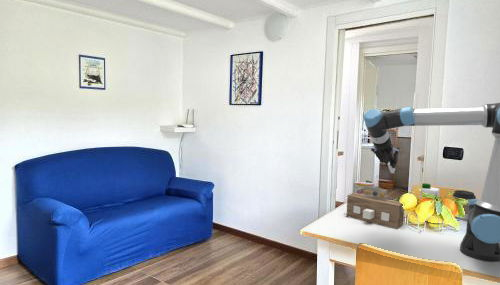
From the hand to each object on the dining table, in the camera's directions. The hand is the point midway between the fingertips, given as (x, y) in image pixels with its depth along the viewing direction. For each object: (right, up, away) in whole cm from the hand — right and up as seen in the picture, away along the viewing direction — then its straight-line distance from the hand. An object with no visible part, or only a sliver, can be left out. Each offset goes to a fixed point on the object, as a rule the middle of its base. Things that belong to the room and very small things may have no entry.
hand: (393, 171), depth 171 cm
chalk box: (+6, -25, +54) cm, 60 cm away
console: (-3, -28, +18) cm, 34 cm away
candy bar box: (-3, -27, +39) cm, 47 cm away
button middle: (-7, -26, +14) cm, 30 cm away
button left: (-9, -25, +23) cm, 35 cm away
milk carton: (+28, -29, +21) cm, 45 cm away
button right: (+2, -26, +11) cm, 29 cm away
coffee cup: (+50, -29, +27) cm, 64 cm away
